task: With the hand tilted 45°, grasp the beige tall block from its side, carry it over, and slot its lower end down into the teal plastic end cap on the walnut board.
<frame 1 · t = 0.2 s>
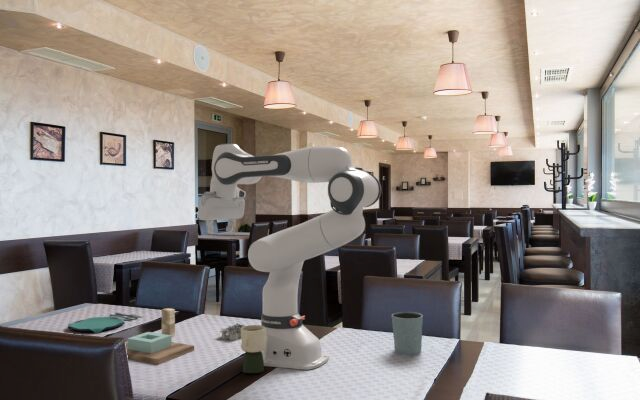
hand: (220, 232, 175), 39 cm above the table, tool pointing down, fingers open, 8 cm apart
beige tall block: (168, 336, 190), on the table
walnut board: (149, 351, 172), on the table
end cap: (149, 342, 172), on the walnut board, point 3 cm above the table
grey green cup: (407, 351, 171), on the table
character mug: (253, 372, 151), on the table
teal flat piece: (106, 325, 210), on the table
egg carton: (235, 337, 190), on the table
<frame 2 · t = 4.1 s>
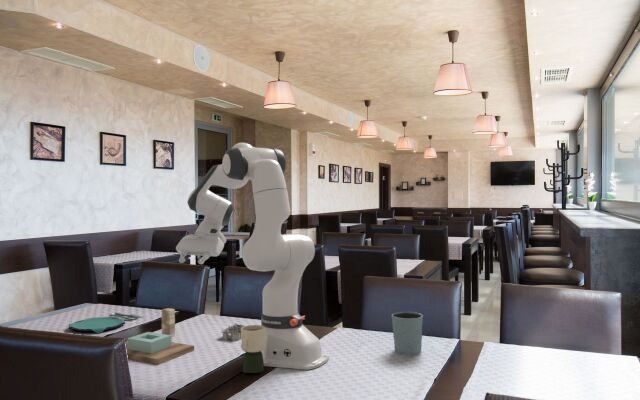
hand: (190, 262, 201), 26 cm above the table, tool tilted 45°, fingers open, 8 cm apart
nothing on the table moved.
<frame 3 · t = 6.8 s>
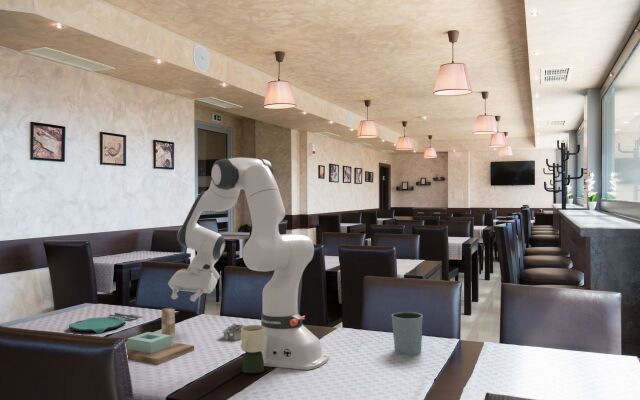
hand: (182, 299, 197), 12 cm above the table, tool tilted 45°, fingers open, 8 cm apart
nothing on the table moved.
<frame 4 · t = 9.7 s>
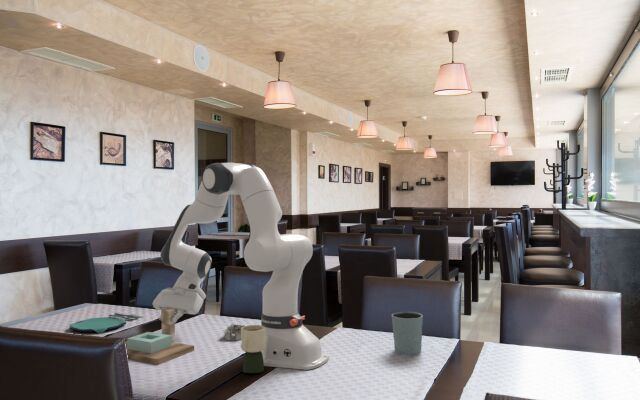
hand: (166, 320, 190), 6 cm above the table, tool tilted 45°, fingers closed on beige tall block, 4 cm apart
beige tall block: (168, 336, 190), on the table, touching gripper
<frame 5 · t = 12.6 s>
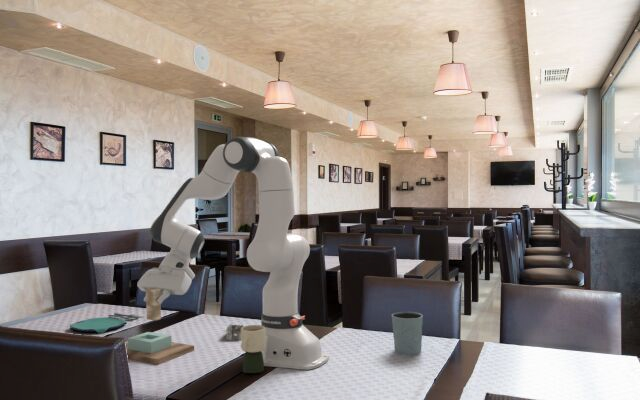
hand: (152, 301, 174), 16 cm above the table, tool tilted 45°, fingers closed on beige tall block, 4 cm apart
beige tall block: (153, 319, 175), point 10 cm above the table, touching gripper
when the fingers open (9 cm above the table, at t = 15.5 s): beige tall block drops 1 cm, resting on walnut board.
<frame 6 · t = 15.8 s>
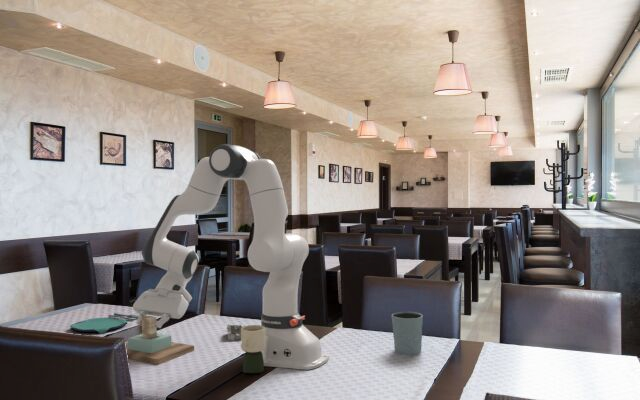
hand: (148, 325, 171), 9 cm above the table, tool tilted 45°, fingers open, 7 cm apart
beige tall block: (149, 347, 172), point 2 cm above the table, touching walnut board
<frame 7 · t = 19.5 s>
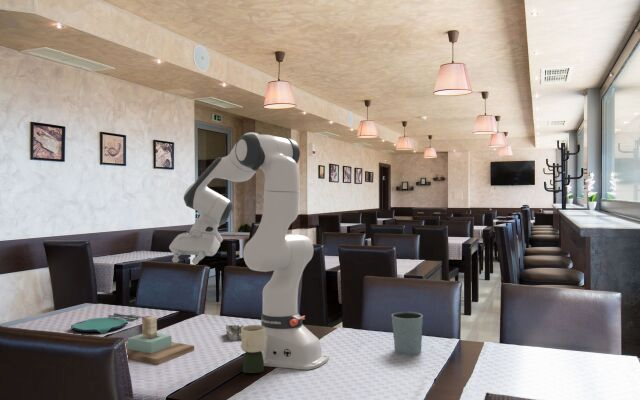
hand: (184, 262, 189), 27 cm above the table, tool tilted 45°, fingers open, 8 cm apart
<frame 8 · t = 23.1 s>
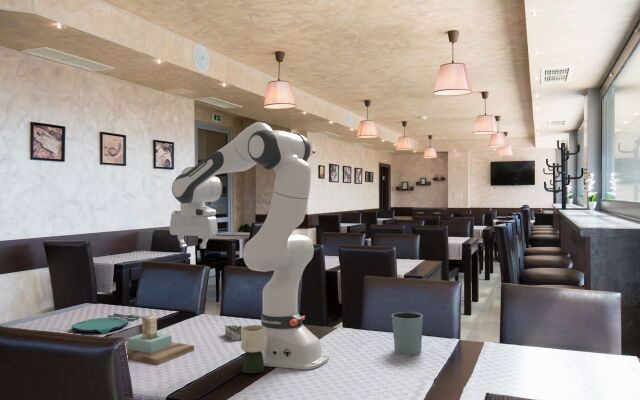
hand: (193, 247, 193), 32 cm above the table, tool pointing down, fingers open, 8 cm apart
at the end: beige tall block 0.0 cm off-centre on the end cap, point 1.5 cm above the end cap's base; beige tall block tilted 0°; the gripper is holding nothing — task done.
